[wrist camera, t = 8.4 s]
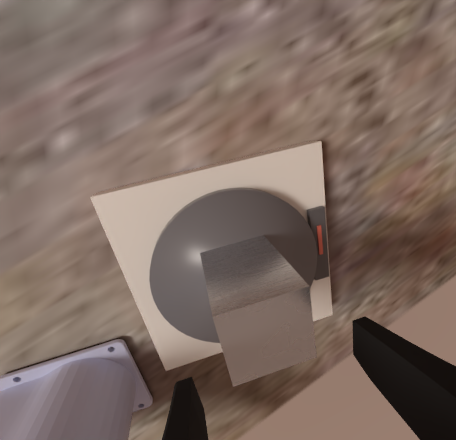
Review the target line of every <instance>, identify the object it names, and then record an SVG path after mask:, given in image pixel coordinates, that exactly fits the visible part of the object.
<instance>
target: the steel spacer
mask: <svg viewBox="0 0 456 440" xmlns="http://www.w3.org/2000/svg"><path fill="white" fill-rule="evenodd" d="M200 256H201V261H202V266H203V271H204V276H205V281H206V287H207V292H208V297H209V302H210V307H211V312H212V317H213V321H214V324H215V327H216V331H217V334H218V337H219V341H220V344H221V348H222V351H223V354H224V358H225V361H226V364H227V368H228V371H229V375H230V378H231V381H232V385H233V387H234V386H237V385H240V384H243V383H246V382H248V381H251V380H254V379H257V378H260V377H262V376H265V375H268V374H271V373H274V372H276V371H279V370H282V369H285V368H288V367H290V366H293V365H296V364H299V363H302V362H304V361H307V360H310V359H313V358H316V357H317V356H316V346H315V336H314V326H313V316H312V306H311V296H310V286H309V285H308V284H307V283H306V282H305V281H304V279H303V278H302V277H301V276H300V275H299V274H298V273H297V272H296V271H295V269H294V268H293V267H292V266H291V265H290V264H289V263H288V262H287V261H286V260H285V258H284V257H283V256H282V255H281V254H280V253H279V252H278V251H277V250H276V248H275V247H274V246H273V245H272V244H271V243H270V242H269V241H268V240H267V238H266V237H265V236H264V235H261V236H258V237H254V238H251V239H247V240H244V241H240V242H237V243H233V244H230V245H226V246H223V247H219V248H216V249H212V250H208V251H205V252H201V253H200Z"/></svg>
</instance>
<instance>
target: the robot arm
mask: <svg viewBox="0 0 456 440" xmlns="http://www.w3.org/2000/svg"><path fill="white" fill-rule="evenodd" d="M110 347H114V348H110ZM353 354H354V356H355V357H356V359H357V360H358V362H359V364H360V365H361V367H362V368H363V370H364V371H365V372H366V374H367V375H368V377H369V378H370V379H371V381H372V382H373V383H374V384H375V386H376V387H377V388H378V389H379V391H380V392H381V393H382V394H383V395H384V397H385V398H386V399H387V400H388V402H389V403H390V404H391V405H392V406H393V408H394V409H395V410H396V411H397V412H398V414H399V415H400V416H401V417H402V418H403V419H404V421H405V422H406V423H407V424H408V426H409V427H410V428H411V429H412V430H413V432H414V433H415V434H416V435H417V436H418V438H419V439H420V440H456V366H454V365H452V364H450V363H448V362H446V361H444V360H442V359H440V358H438V357H437V356H434V355H433V354H431V353H429V352H427V351H425V350H423V349H422V348H420V347H418V346H416V345H414V344H412V343H411V342H409V341H407V340H405V339H403V338H402V337H400V336H398V335H397V334H395V333H393V332H391V331H390V330H388V329H386V328H384V327H383V326H381V325H379V324H377V323H376V322H374V321H372V320H370V319H369V318H367V317H362V318H359V319H356V320H354V321H353ZM0 391H1V392H0V440H128V437H129V431H130V425H131V419H132V413H133V412H135V411H138V410H141V409H144V408H147V407H149V406H151V405H152V402H153V398H152V396H151V394H150V392H149V390H148V388H147V386H146V384H145V382H144V380H143V378H142V376H141V374H140V371H139V369H138V367H137V365H136V363H135V361H134V359H133V357H132V355H131V353H130V351H129V349H128V347H127V345H126V343H125V341H124V340H122V339H116V340H113V341H110V342H107V343H104V344H100V345H97V346H94V347H91V348H88V349H84V350H81V351H78V352H75V353H72V354H69V355H65V356H62V357H59V358H56V359H53V360H50V361H46V362H43V363H40V364H37V365H34V366H30V367H27V368H24V369H21V370H18V371H15V372H11V373H8V374H5V375H2V376H0ZM162 440H208V434H207V427H206V420H205V413H204V408H203V405H202V403H201V400H200V397H199V395H198V392H197V390H196V387H195V384H194V382H193V379H192V377H190V378H187V379H184V380H181V381H178V382H176V384H175V386H174V392H173V397H172V401H171V406H170V410H169V414H168V418H167V422H166V426H165V430H164V434H163V437H162Z"/></svg>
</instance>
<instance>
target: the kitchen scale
mask: <svg viewBox="0 0 456 440" xmlns="http://www.w3.org/2000/svg"><path fill="white" fill-rule="evenodd" d="M90 198H91V201H92V203H93V205H94V207H95V210H96V212H97V214H98V217H99V219H100V221H101V223H102V226H103V228H104V230H105V233H106V235H107V237H108V240H109V242H110V244H111V246H112V249H113V251H114V253H115V256H116V258H117V260H118V262H119V265H120V267H121V269H122V272H123V274H124V276H125V279H126V281H127V283H128V285H129V288H130V290H131V292H132V295H133V297H134V299H135V302H136V304H137V306H138V308H139V311H140V313H141V315H142V318H143V320H144V322H145V324H146V327H147V329H148V331H149V334H150V336H151V338H152V341H153V343H154V345H155V347H156V350H157V352H158V354H159V357H160V359H161V361H162V363H163V366H164V368H165V370H166V371H168V370H171V369H174V368H177V367H180V366H183V365H186V364H189V363H192V362H195V361H197V360H200V359H203V358H206V357H209V356H212V355H215V354H218V353H221V352H223V351H222V348H221V344H220V341H219V337H218V334H217V331H216V327H215V324H214V321H213V317H212V312H211V307H210V302H209V297H208V292H207V287H206V281H205V276H204V271H203V266H202V261H201V256H200V253H201V252H205V251H208V250H212V249H216V248H219V247H223V246H226V245H230V244H233V243H237V242H240V241H244V240H247V239H251V238H254V237H258V236H261V235H264V236H265V237H266V238H267V240H268V241H269V242H270V243H271V244H272V245H273V246H274V247H275V248H276V250H277V251H278V252H279V253H280V254H281V255H282V256H283V257H284V258H285V260H286V261H287V262H288V263H289V264H290V265H291V266H292V267H293V268H294V269H295V271H296V272H297V273H298V274H299V275H300V276H301V277H302V278H303V279H304V281H305V282H306V283H307V284H308V285H309V286H310V296H311V306H312V316H313V321H316V320H319V319H322V318H325V317H327V316H330V315H332V300H331V284H330V268H329V252H328V236H327V221H326V205H325V189H324V173H323V158H322V142H321V141H308V142H304V143H300V144H295V145H291V146H287V147H283V148H279V149H275V150H271V151H266V152H262V153H258V154H254V155H250V156H246V157H242V158H237V159H233V160H229V161H225V162H221V163H217V164H213V165H208V166H204V167H200V168H196V169H192V170H188V171H184V172H179V173H175V174H171V175H167V176H163V177H159V178H154V179H150V180H146V181H142V182H138V183H134V184H130V185H125V186H121V187H117V188H113V189H109V190H105V191H101V192H98V193H96V194H94V195H93V196H91V197H90Z"/></svg>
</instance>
